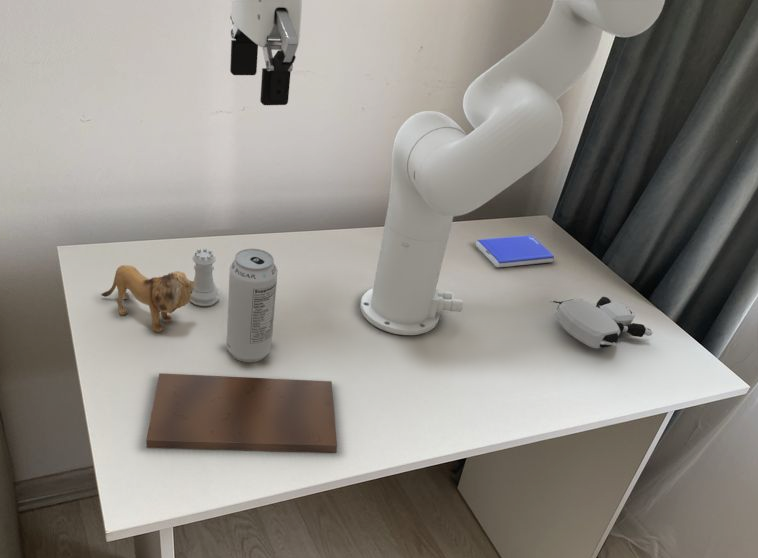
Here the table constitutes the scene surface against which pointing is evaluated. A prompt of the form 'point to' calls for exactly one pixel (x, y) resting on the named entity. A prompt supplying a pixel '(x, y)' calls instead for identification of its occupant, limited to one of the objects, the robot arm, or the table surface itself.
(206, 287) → the rook chess piece
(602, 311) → the robot toy
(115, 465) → the table surface
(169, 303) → the lion figurine
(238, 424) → the serving board
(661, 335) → the table surface
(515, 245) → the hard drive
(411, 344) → the table surface
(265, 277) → the energy drink can
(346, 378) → the table surface
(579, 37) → the robot arm
